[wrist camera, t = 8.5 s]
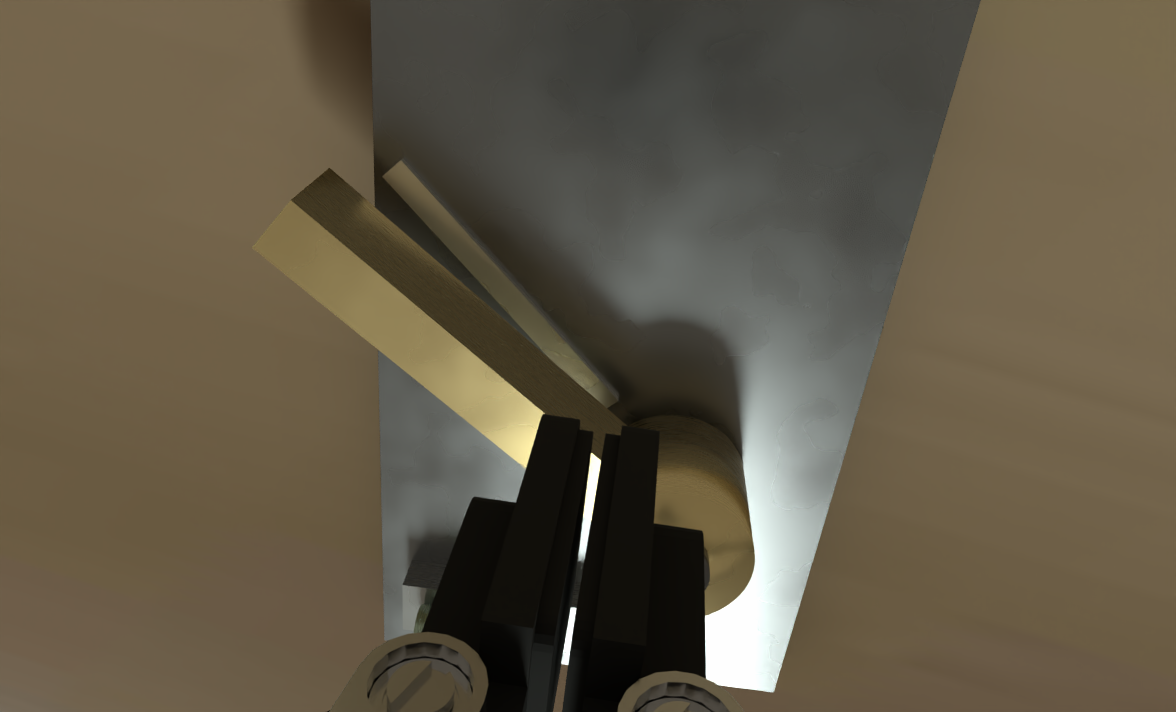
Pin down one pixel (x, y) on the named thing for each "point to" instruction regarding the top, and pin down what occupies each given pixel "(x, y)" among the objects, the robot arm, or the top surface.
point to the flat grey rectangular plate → (659, 242)
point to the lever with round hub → (498, 366)
